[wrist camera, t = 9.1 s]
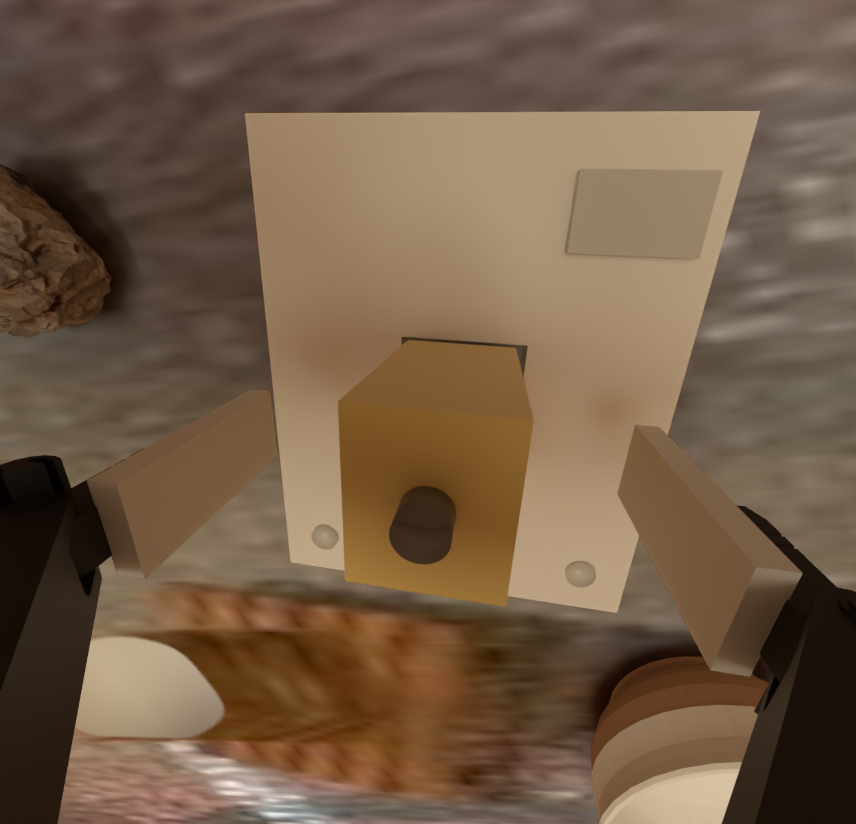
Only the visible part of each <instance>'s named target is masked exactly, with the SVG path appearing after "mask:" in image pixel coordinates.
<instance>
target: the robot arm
mask: <svg viewBox="0 0 856 824" xmlns="http://www.w3.org/2000/svg"><path fill="white" fill-rule="evenodd" d="M277 456H278V455H277V446H276V438H275V429H274V420H273V411H272V403H271V394H270V391H264V390H253V389H251V390H249V391H247V392H246V393H244V394H242V395H240V396H238V397H237V398H235V399H233V400H231V401H229V402H228V403H226V404H224V405H222V406H220V407H219V408H217V409H215V410H213V411H211V412H210V413H208V414H206V415H204V416H202V417H201V418H199V419H197V420H195V421H193V422H191V423H190V424H188V425H186V426H184V427H182V428H181V429H179V430H177V431H175V432H173V433H172V434H170V435H168V436H166V437H164V438H163V439H161V440H159V441H157V442H155V443H154V444H152V445H150V446H148V447H146V448H144V449H142V450H140V451H138V452H136V453H135V454H133V455H131V456H129V457H128V458H126V459H124V460H122V461H120V462H118V463H116V464H115V465H114V466H111V467H109V468H107V469H106V470H104V471H102V472H100V473H98V474H97V475H95V476H93V477H91V478H89V479H88V480H86V481H84V482H82V483H80V484H78V485H77V486H75V487H73V488H71V486H70V483H69V480H68V477H67V474H66V472H65V469H64V466H63V463H62V460H61V458H59V457H56V456H47V455H43V456H33V457H27V458H22V459H18V460H14V461H11V462H8V463H5V464H2V465H0V824H57V822H58V817H59V811H60V806H61V800H62V795H63V789H64V784H65V778H66V773H67V767H68V762H69V756H70V751H71V745H72V740H73V734H74V729H75V723H76V718H77V712H78V707H79V701H80V695H81V690H82V685H83V679H84V674H85V668H86V663H87V657H88V652H89V646H90V641H91V635H92V630H93V624H94V619H95V613H96V608H97V602H98V597H99V591H100V586H101V580H102V577H101V572H100V570H99V567H98V566H99V565H100V564H101V563H103V562H104V561H105V560H107V559H108V558H109V557H110V556H112V559H113V562H114V566H115V569H116V572H117V575H122V576H128V577H134V578H141V579H146V578H147V577H148V576H149V575H150V574H151V573H152V572H153V571H154V570H155V569H156V568H157V567H158V566H160V565H161V564H162V563H163V562H164V561H165V560H166V559H167V558H168V557H169V556H170V555H171V554H172V553H173V552H175V551H176V550H177V549H178V548H179V547H180V546H181V545H182V544H183V543H184V542H185V541H186V540H187V539H189V538H190V537H191V536H192V535H193V534H194V533H195V532H196V531H197V530H198V529H199V528H200V527H201V526H202V525H204V524H205V523H206V522H207V521H208V520H209V519H210V518H211V517H212V516H213V515H214V514H215V513H216V512H218V511H219V510H220V509H221V508H222V507H223V506H224V505H225V504H226V503H227V502H228V501H229V500H230V499H232V498H233V497H234V496H235V495H236V494H237V493H238V492H239V491H240V490H241V489H242V488H243V487H244V486H245V485H247V484H248V483H249V482H250V481H251V480H252V479H253V478H254V477H255V476H256V475H257V474H258V473H259V472H261V471H262V470H263V469H264V468H265V467H266V466H267V465H268V464H269V463H270V462H271V461H272V460H273V459H274V458H276V457H277ZM617 495H618V496H619V498H620V500H621V502H622V504H623V506H624V508H625V510H626V512H627V514H628V515H629V517H630V519H631V521H632V523H633V525H634V527H635V529H636V531H637V533H638V534H639V536H640V538H641V540H642V542H643V544H644V546H645V548H646V550H647V551H648V553H649V555H650V557H651V559H652V561H653V563H654V565H655V567H656V569H657V570H658V572H659V574H660V576H661V578H662V580H663V582H664V584H665V586H666V588H667V589H668V591H669V593H670V595H671V597H672V599H673V601H674V603H675V605H676V606H677V608H678V610H679V612H680V614H681V616H682V618H683V620H684V622H685V624H686V625H687V627H688V629H689V631H690V633H691V635H692V637H693V639H694V641H695V643H696V644H697V646H698V648H699V650H700V652H701V654H702V656H703V658H704V660H705V662H706V663H707V665H708V667H709V669H710V670H711V671H718V672H724V673H730V674H736V675H742V676H749V677H750V676H751V674H752V672H753V670H754V668H755V666H756V664H757V662H758V660H759V658H760V656H762V658H763V659H764V661H765V662H766V664H767V665H768V667H769V668H770V670H771V671H772V673H773V674H774V675H773V677H772V679H771V681H770V683H769V684H768V686H767V688H766V690H765V692H764V694H763V696H762V697H761V699H760V701H759V703H758V705H757V707H756V708H755V710H754V712H755V713H757V714H758V716H757V719H756V722H755V725H754V728H753V731H752V734H751V737H750V740H749V743H748V746H747V749H746V752H745V755H744V758H743V761H742V764H741V767H740V770H739V773H738V776H737V779H736V782H735V785H734V788H733V791H732V794H731V797H730V800H729V803H728V806H727V809H726V812H725V815H724V818H723V821H722V824H856V592H854V591H852V590H847V589H842V588H837V587H836V586H835V585H834V584H833V583H832V582H831V581H830V580H829V579H828V578H827V577H826V576H825V575H824V574H823V573H821V572H820V571H819V570H818V569H817V568H816V567H815V566H814V565H813V564H812V563H811V562H810V561H809V560H808V559H807V558H806V557H805V556H804V555H803V554H802V553H801V552H800V551H799V550H798V549H794V546H793V545H792V544H791V543H790V542H789V541H788V540H787V539H786V538H785V537H782V536H781V533H780V532H779V531H778V530H777V529H776V528H775V527H774V526H772V525H771V524H770V523H769V522H768V521H767V520H766V519H765V518H763V517H761V516H760V515H758V514H756V513H755V512H753V511H752V510H750V509H748V508H747V507H745V506H736V505H735V504H734V503H733V502H732V501H731V500H730V499H729V498H728V497H727V495H726V494H725V493H724V492H723V491H722V490H721V489H720V488H719V487H718V486H717V485H716V484H715V483H714V482H713V481H712V480H711V479H710V478H709V477H708V476H707V475H706V474H705V473H704V472H703V471H702V470H701V469H700V468H699V467H698V466H697V465H696V464H695V463H694V462H693V461H692V460H691V459H690V458H689V457H688V456H687V455H686V454H685V453H684V452H683V451H682V450H681V449H680V448H679V447H678V446H677V444H676V443H675V442H674V441H673V440H672V439H671V438H670V437H669V436H668V435H667V434H666V433H665V432H664V431H663V430H662V429H661V428H660V427H656V426H645V425H635V427H634V431H633V435H632V439H631V443H630V446H629V450H628V454H627V458H626V462H625V466H624V470H623V474H622V477H621V481H620V485H619V489H618V493H617Z"/></svg>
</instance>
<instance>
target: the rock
mask: <svg viewBox="0 0 856 824" xmlns="http://www.w3.org/2000/svg"><path fill="white" fill-rule="evenodd" d="M111 279H112V277H111V276H110V274H109V273H108V271H107V270H106V268H105V265H104V262H103V260H102V258H101V257H100V256H98V254H97V253H96V252H95V251H94V250H93V249H92V248H91V247H90V246H89V245H88V244H87V243H86V242H85V241H84V240H83V239H82V238H81V237H80V236H78V235H77V234H76V233H75V231H74V230H73V228H72V227H71V226H70V225H69V223H68V222H67V221H66V220H65V219H64V218H63V214H62V213H61V212H59V211H57V210H56V209H54V208H52V207H51V206H50V204H49V199H48V198H47V197H46V196H44V195H43V194H41V193H40V192H38V191H37V190H35V189H34V187H33V185H32V184H30V183H29V181H28V178H27V176H24V175H22V174H20V173H18V172H16V171H14V170H12V169H10V168H8V167H5V166H3V165H0V333H1V332H4V331H6V332H8V333H9V334H11V335H13V336H25V337H32V336H36V335H38V334H39V333H40V332H54V331H55V330H58V329H61V328H63V327H64V326H65V325H68V324H74V325H78V324H82V323H85V322H88V321H90V320H93V319H94V318H95V317H96V316H97V315H98V313H99V311H101V309H102V306H103V302H104V296H105V295H106V294H107V293H109V292H111V289H110V284H109V283H110V281H111Z"/></svg>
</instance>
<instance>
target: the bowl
mask: <svg viewBox="0 0 856 824" xmlns="http://www.w3.org/2000/svg"><path fill="white" fill-rule="evenodd" d="M768 684H769V682H766V681H764V680H761V679H759V678H757V677H756V676H754V675H753V674H751V676H750V677H749V676H742V675H736V674H730V673H724V672H718V671H711V670H710V669H709V667H708V665H707V663H706V662H705V660H704V658H703V657H688V656H684V657H674V658H666V659H662V660H658V661H654V662H651V663H648V664H646V665H643V666H641V667H639V668H637V669H635V670H634V671H632V672H631V673H629V674H627V675H626V676H625V677H624V678H623V679H622V680H621V681H620V682H619V683H618V684H617V686H616V687H615V689H614V690H613V692H612V695H611V698H610V703H609V704H608V706H607V707H606V709H605V710H604V712H603V713H602V715H601V716H600V719H599V722H598V725H597V729H596V732H595V736H594V739H593V743H592V746H591V766H592V789H593V793H594V797H595V801H596V805H597V809H598V813H599V820H598V824H722V821H723V818H724V815H725V812H726V809H727V806H728V803H729V800H730V797H731V794H732V791H733V788H734V785H735V782H736V779H737V776H738V773H739V770H740V767H741V764H742V761H743V758H744V755H745V752H746V749H747V746H748V743H749V740H750V737H751V734H752V731H753V728H754V725H755V722H756V719H757V716H758V714H757V713H755V712H754V710H755V708H756V707H757V705H758V703H759V701H760V699H761V697H762V696H763V694H764V692H765V690H766V688H767V686H768Z"/></svg>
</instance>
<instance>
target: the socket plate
mask: <svg viewBox="0 0 856 824" xmlns="http://www.w3.org/2000/svg"><path fill="white" fill-rule="evenodd" d="M759 114H760V111H652V112H421V113H245V120H246V130H247V139H248V149H249V159H250V169H251V178H252V188H253V198H254V208H255V218H256V227H257V237H258V247H259V257H260V266H261V276H262V286H263V296H264V306H265V315H266V325H267V335H268V345H269V354H270V364H271V374H272V384H273V394H274V403H275V413H276V423H277V433H278V442H279V452H280V462H281V472H282V482H283V491H284V501H285V511H286V521H287V530H288V540H289V550H290V560H291V562H293V563H299V564H306V565H312V566H319V567H325V568H332V569H338V570H344V571H345V568H344V543H343V519H342V494H341V470H340V445H339V420H338V401H339V400H340V399H341V398H342V397H343V396H345V395H346V394H347V393H348V392H349V391H350V390H351V389H353V388H354V387H355V386H356V385H357V384H358V383H359V382H361V381H362V380H363V379H364V378H365V377H366V376H367V375H369V374H370V373H371V372H372V371H373V370H374V369H376V368H377V367H378V366H379V365H380V364H381V363H382V362H384V361H385V360H386V359H387V358H388V357H389V356H390V355H392V354H393V353H394V352H395V351H396V350H397V349H398V348H400V347H401V346H402V345H403V344H404V343H405V342H406V341H408V340H416V341H429V342H443V343H456V344H470V345H483V346H497V347H511V348H516V350H517V354H518V358H519V362H520V366H521V370H522V374H523V378H524V382H525V386H526V391H527V395H528V399H529V403H530V407H531V411H532V415H533V419H534V423H533V430H532V437H531V443H530V450H529V457H528V463H527V470H526V476H525V483H524V490H523V496H522V503H521V510H520V516H519V523H518V530H517V536H516V543H515V549H514V556H513V563H512V569H511V576H510V583H509V589H508V596H512V597H518V598H524V599H531V600H537V601H544V602H550V603H557V604H563V605H569V606H576V607H582V608H589V609H595V610H602V611H608V612H614V613H617V611H618V608H619V604H620V601H621V597H622V594H623V590H624V587H625V583H626V580H627V576H628V573H629V569H630V566H631V562H632V559H633V555H634V552H635V548H636V545H637V541H638V538H639V534H638V533H637V531H636V529H635V527H634V525H633V523H632V521H631V519H630V517H629V515H628V514H627V512H626V510H625V508H624V506H623V504H622V502H621V500H620V498H619V496H618V495H617V493H618V489H619V485H620V481H621V477H622V474H623V470H624V466H625V462H626V458H627V454H628V450H629V446H630V443H631V439H632V435H633V431H634V427H635V425H645V426H656V427H660V428H661V429H662V430H663V431H664V432H665V433H666V434H667V435H668V432H669V429H670V425H671V422H672V418H673V415H674V411H675V408H676V404H677V401H678V397H679V394H680V390H681V387H682V383H683V380H684V376H685V373H686V369H687V366H688V362H689V359H690V355H691V352H692V348H693V345H694V341H695V338H696V334H697V331H698V327H699V324H700V320H701V317H702V313H703V310H704V306H705V303H706V299H707V296H708V292H709V289H710V285H711V282H712V278H713V275H714V271H715V268H716V264H717V261H718V257H719V254H720V250H721V247H722V243H723V240H724V236H725V233H726V229H727V226H728V222H729V219H730V215H731V212H732V208H733V205H734V201H735V198H736V194H737V191H738V187H739V184H740V180H741V177H742V173H743V170H744V166H745V163H746V159H747V156H748V152H749V149H750V145H751V142H752V138H753V135H754V131H755V128H756V124H757V121H758V117H759Z"/></svg>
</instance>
